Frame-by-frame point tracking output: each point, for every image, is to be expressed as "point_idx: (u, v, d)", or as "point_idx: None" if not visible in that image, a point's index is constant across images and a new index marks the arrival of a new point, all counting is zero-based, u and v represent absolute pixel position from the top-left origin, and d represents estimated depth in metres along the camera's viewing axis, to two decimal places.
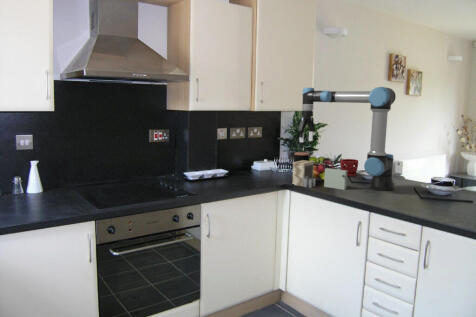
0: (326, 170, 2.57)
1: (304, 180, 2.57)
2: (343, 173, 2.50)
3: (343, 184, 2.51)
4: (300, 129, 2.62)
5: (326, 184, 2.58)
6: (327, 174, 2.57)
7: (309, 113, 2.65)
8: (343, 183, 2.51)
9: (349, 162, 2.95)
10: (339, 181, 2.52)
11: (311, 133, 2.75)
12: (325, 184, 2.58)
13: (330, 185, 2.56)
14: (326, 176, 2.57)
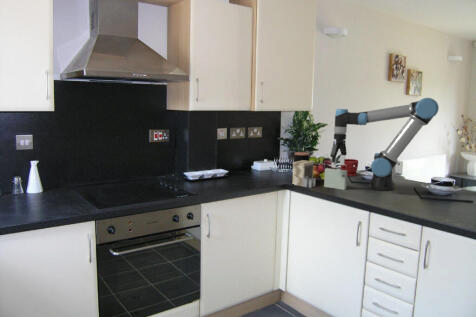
0: (326, 170, 2.57)
1: (304, 180, 2.57)
2: (343, 173, 2.50)
3: (343, 184, 2.51)
4: (333, 154, 2.44)
5: (326, 184, 2.58)
6: (327, 174, 2.57)
7: (342, 136, 2.47)
8: (343, 183, 2.51)
9: (349, 162, 2.95)
10: (339, 181, 2.52)
11: (343, 157, 2.57)
12: (325, 184, 2.58)
13: (330, 185, 2.56)
14: (326, 176, 2.57)
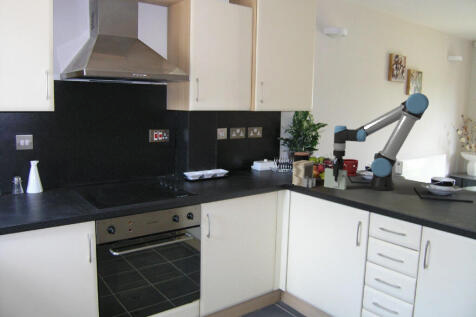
0: (326, 170, 2.57)
1: (304, 180, 2.57)
2: (343, 173, 2.50)
3: (343, 184, 2.51)
4: (335, 173, 2.49)
5: (326, 184, 2.58)
6: (327, 174, 2.57)
7: (341, 153, 2.48)
8: (343, 183, 2.51)
9: (349, 162, 2.95)
10: (339, 181, 2.52)
11: None
12: (325, 183, 2.58)
13: (330, 185, 2.56)
14: (326, 176, 2.57)
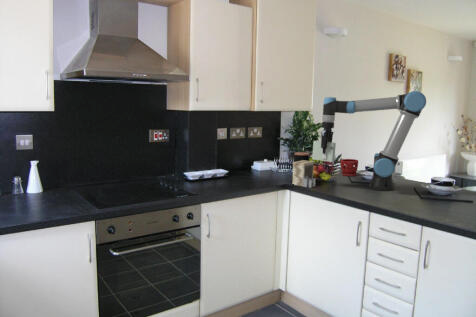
0: (315, 142, 2.54)
1: (304, 180, 2.57)
2: (331, 145, 2.47)
3: (331, 156, 2.48)
4: (323, 145, 2.47)
5: (314, 157, 2.56)
6: (315, 146, 2.54)
7: (330, 125, 2.46)
8: (331, 155, 2.48)
9: (349, 162, 2.95)
10: (327, 153, 2.50)
11: None
12: (313, 156, 2.56)
13: (318, 157, 2.54)
14: (314, 148, 2.55)
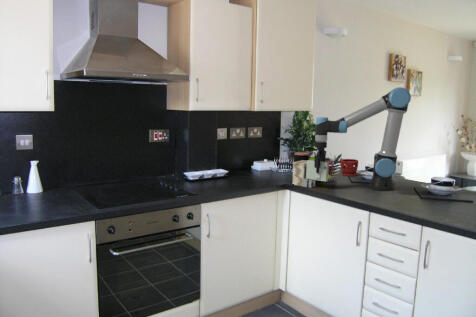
0: (308, 162, 2.56)
1: (304, 180, 2.57)
2: (324, 165, 2.49)
3: (324, 176, 2.50)
4: (316, 165, 2.48)
5: (307, 176, 2.57)
6: (309, 166, 2.56)
7: (323, 145, 2.47)
8: (324, 175, 2.50)
9: (349, 162, 2.95)
10: (320, 172, 2.51)
11: None
12: (307, 175, 2.57)
13: (312, 177, 2.55)
14: (308, 168, 2.56)
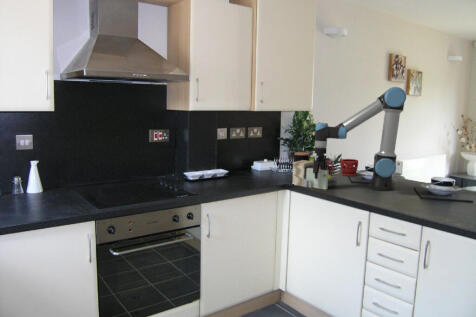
0: (308, 170, 2.56)
1: (304, 180, 2.57)
2: (324, 173, 2.50)
3: (324, 184, 2.50)
4: (315, 170, 2.47)
5: (307, 184, 2.58)
6: (308, 174, 2.56)
7: (322, 150, 2.48)
8: (324, 183, 2.50)
9: (349, 162, 2.95)
10: (320, 180, 2.52)
11: None
12: None
13: (312, 185, 2.56)
14: (308, 176, 2.57)
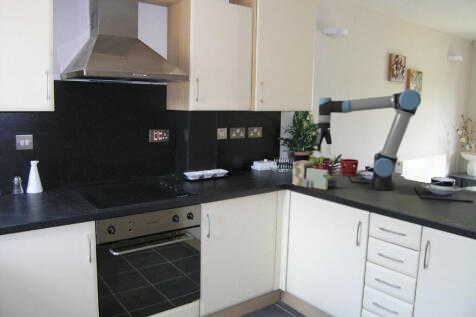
0: (308, 170, 2.56)
1: (304, 180, 2.57)
2: (324, 173, 2.50)
3: (324, 184, 2.50)
4: (318, 142, 2.44)
5: (307, 184, 2.58)
6: (308, 174, 2.56)
7: (326, 125, 2.47)
8: (324, 183, 2.50)
9: (349, 162, 2.95)
10: (320, 180, 2.52)
11: (328, 146, 2.57)
12: None
13: (312, 185, 2.56)
14: (308, 176, 2.57)
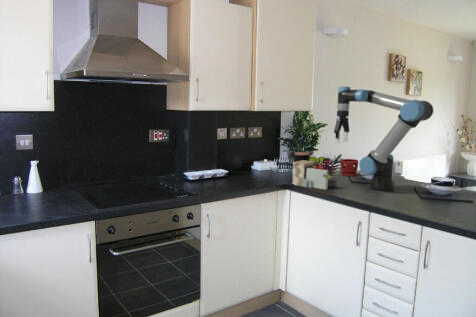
0: (308, 170, 2.56)
1: (304, 180, 2.57)
2: (324, 173, 2.50)
3: (324, 184, 2.50)
4: (336, 129, 2.53)
5: (307, 184, 2.58)
6: (308, 174, 2.56)
7: (345, 113, 2.55)
8: (324, 183, 2.50)
9: (349, 162, 2.95)
10: (320, 180, 2.52)
11: (346, 134, 2.66)
12: None
13: (312, 185, 2.56)
14: (308, 176, 2.57)
